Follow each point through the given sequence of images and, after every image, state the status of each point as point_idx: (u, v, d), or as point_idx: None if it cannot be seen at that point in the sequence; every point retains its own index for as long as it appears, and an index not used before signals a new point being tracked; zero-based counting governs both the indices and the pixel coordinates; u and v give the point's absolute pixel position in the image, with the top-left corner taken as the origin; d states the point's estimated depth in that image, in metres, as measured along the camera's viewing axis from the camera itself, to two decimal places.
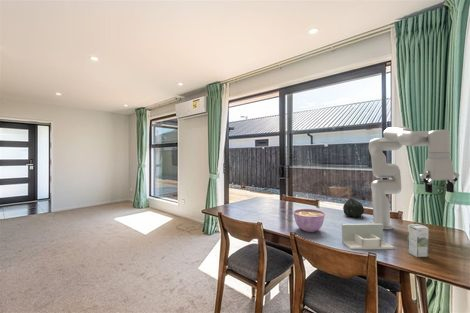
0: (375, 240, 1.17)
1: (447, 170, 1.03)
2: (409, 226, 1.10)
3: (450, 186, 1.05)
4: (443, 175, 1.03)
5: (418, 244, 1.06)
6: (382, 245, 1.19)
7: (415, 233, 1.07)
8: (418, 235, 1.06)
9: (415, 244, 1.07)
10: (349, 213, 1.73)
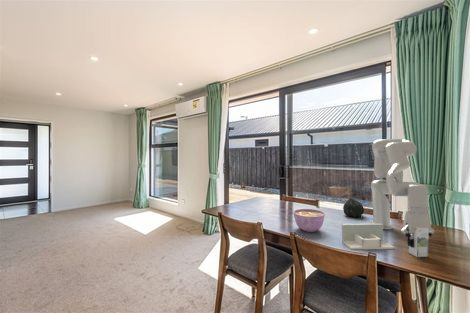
0: (375, 240, 1.17)
1: (425, 224, 1.06)
2: None
3: None
4: None
5: (418, 244, 1.06)
6: (382, 245, 1.19)
7: (415, 233, 1.07)
8: (418, 235, 1.06)
9: (415, 244, 1.07)
10: (349, 213, 1.73)
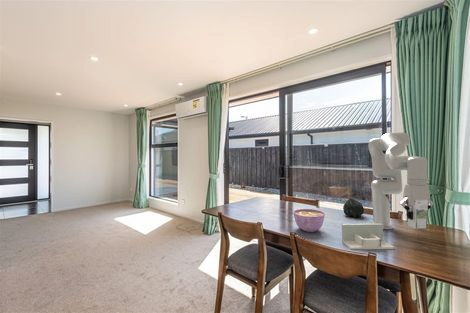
0: (375, 240, 1.17)
1: (424, 196, 1.07)
2: None
3: None
4: None
5: (417, 216, 1.07)
6: (382, 245, 1.19)
7: (414, 206, 1.07)
8: (417, 207, 1.06)
9: (414, 216, 1.07)
10: (349, 213, 1.73)
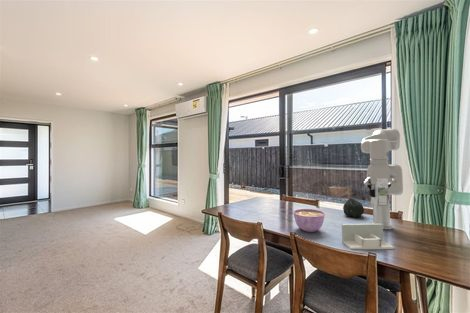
0: (375, 240, 1.17)
1: (384, 175, 1.16)
2: None
3: None
4: None
5: (378, 193, 1.15)
6: (382, 245, 1.19)
7: (376, 184, 1.16)
8: (378, 185, 1.15)
9: (376, 194, 1.16)
10: (349, 213, 1.73)
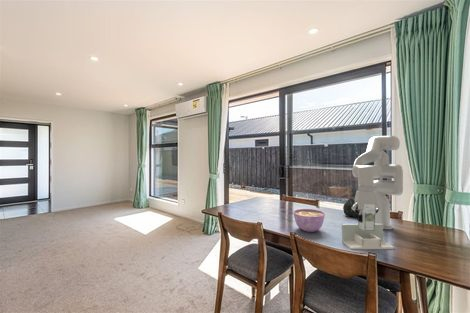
0: (375, 240, 1.17)
1: (371, 201, 1.19)
2: None
3: None
4: None
5: (365, 219, 1.19)
6: (382, 245, 1.19)
7: (363, 209, 1.20)
8: (365, 211, 1.19)
9: (363, 219, 1.19)
10: (349, 213, 1.73)
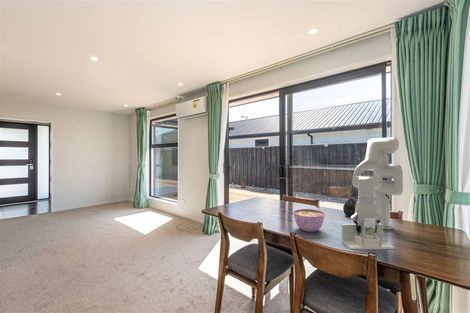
0: (375, 240, 1.17)
1: (371, 213, 1.19)
2: None
3: None
4: (368, 217, 1.19)
5: (366, 233, 1.19)
6: (382, 245, 1.19)
7: (363, 223, 1.20)
8: (365, 225, 1.19)
9: (364, 233, 1.20)
10: (349, 213, 1.73)
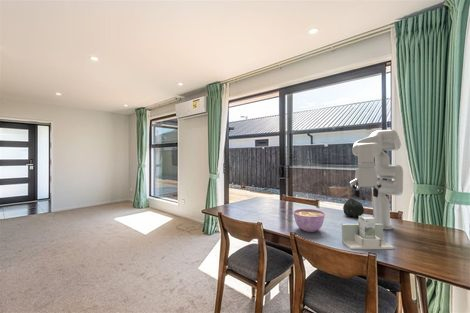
0: (375, 240, 1.17)
1: (371, 178, 1.19)
2: (359, 217, 1.23)
3: (375, 192, 1.21)
4: (368, 182, 1.20)
5: (365, 233, 1.19)
6: (382, 245, 1.19)
7: (363, 223, 1.20)
8: (365, 225, 1.19)
9: (363, 233, 1.20)
10: (349, 213, 1.73)
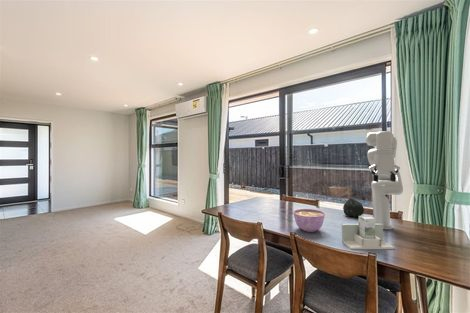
0: (375, 240, 1.17)
1: (389, 163, 1.28)
2: (359, 217, 1.23)
3: (392, 176, 1.30)
4: (386, 167, 1.28)
5: (365, 233, 1.19)
6: (382, 245, 1.19)
7: (363, 223, 1.20)
8: (365, 225, 1.19)
9: (363, 233, 1.20)
10: (349, 213, 1.73)
